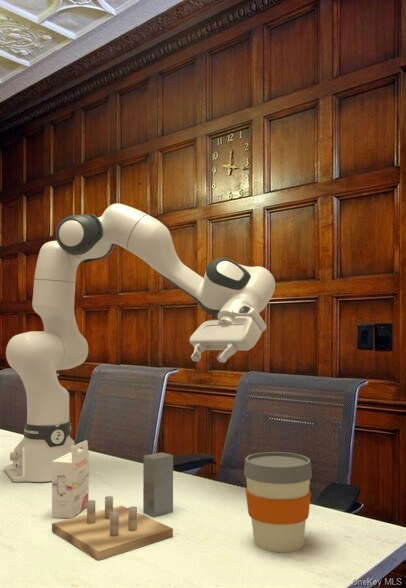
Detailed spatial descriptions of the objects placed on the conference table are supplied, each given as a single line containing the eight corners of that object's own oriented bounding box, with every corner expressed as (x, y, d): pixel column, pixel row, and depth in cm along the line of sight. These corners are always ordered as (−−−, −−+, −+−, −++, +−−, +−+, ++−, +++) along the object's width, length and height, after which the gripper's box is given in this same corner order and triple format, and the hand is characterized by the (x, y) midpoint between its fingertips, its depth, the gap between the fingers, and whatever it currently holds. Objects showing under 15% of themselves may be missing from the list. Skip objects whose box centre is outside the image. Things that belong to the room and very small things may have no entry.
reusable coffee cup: (326, 551, 95) (324, 464, 96) (260, 560, 91) (259, 470, 92) (294, 526, 107) (293, 449, 108) (234, 533, 103) (234, 454, 104)
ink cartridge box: (68, 504, 121) (69, 438, 122) (89, 506, 120) (89, 439, 121) (50, 517, 113) (51, 446, 114) (72, 519, 112) (73, 447, 113)
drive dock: (51, 531, 105) (52, 502, 105) (121, 512, 115) (121, 486, 116) (98, 560, 91) (98, 527, 92) (172, 536, 102) (172, 506, 102)
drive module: (143, 512, 115) (143, 455, 116) (162, 507, 119) (162, 452, 120) (154, 517, 112) (154, 459, 113) (173, 512, 116) (173, 455, 116)
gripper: (202, 311, 141) (172, 350, 134) (258, 307, 125) (228, 351, 118) (215, 328, 143) (187, 367, 136) (272, 326, 128) (243, 370, 121)
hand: (206, 360), depth 127 cm, fingers open, 8 cm apart
